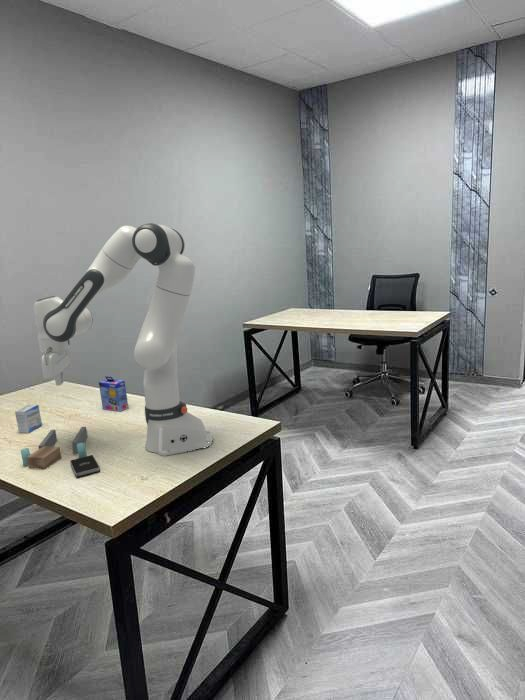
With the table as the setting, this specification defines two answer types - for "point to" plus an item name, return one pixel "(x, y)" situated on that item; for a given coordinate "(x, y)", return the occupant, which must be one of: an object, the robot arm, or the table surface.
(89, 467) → the external hard drive
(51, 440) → the channel walls
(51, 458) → the walnut block
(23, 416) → the medicine box
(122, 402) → the ink cartridge box
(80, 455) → the posts
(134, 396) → the table surface
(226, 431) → the table surface
